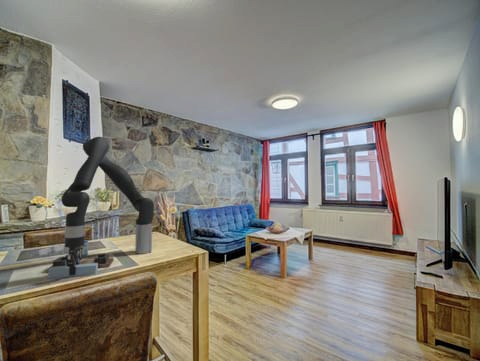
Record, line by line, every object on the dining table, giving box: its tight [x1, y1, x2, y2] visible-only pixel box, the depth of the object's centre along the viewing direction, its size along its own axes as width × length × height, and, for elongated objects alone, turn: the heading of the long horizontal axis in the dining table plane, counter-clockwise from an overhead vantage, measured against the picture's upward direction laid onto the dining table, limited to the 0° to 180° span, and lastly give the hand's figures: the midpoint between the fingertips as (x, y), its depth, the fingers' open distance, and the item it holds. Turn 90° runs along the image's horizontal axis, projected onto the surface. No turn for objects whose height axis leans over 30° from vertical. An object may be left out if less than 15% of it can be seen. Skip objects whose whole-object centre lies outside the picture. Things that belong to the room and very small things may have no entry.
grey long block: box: [47, 263, 99, 280], centre depth 104 cm, size 18×4×4 cm, turn 108°
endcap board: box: [45, 252, 114, 274], centre depth 115 cm, size 26×10×4 cm, turn 108°
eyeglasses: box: [37, 244, 65, 258], centre depth 136 cm, size 14×8×4 cm, turn 153°
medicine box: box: [78, 239, 89, 258], centre depth 130 cm, size 8×4×9 cm, turn 168°
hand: (74, 272), depth 104 cm, fingers closed on grey long block, 3 cm apart
